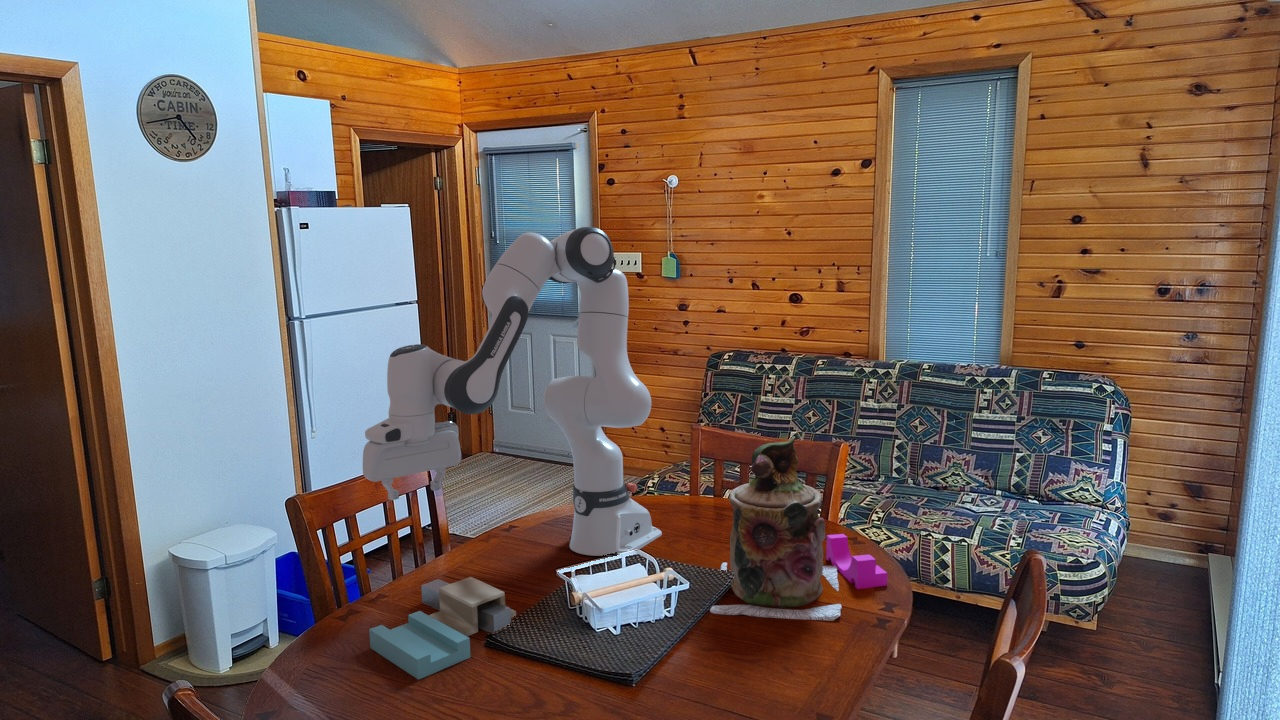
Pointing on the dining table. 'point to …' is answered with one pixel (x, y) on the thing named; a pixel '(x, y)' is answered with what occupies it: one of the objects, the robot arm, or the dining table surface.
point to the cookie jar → (777, 541)
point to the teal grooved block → (420, 645)
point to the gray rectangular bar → (488, 613)
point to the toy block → (854, 564)
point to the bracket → (465, 604)
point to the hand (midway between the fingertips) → (415, 494)
